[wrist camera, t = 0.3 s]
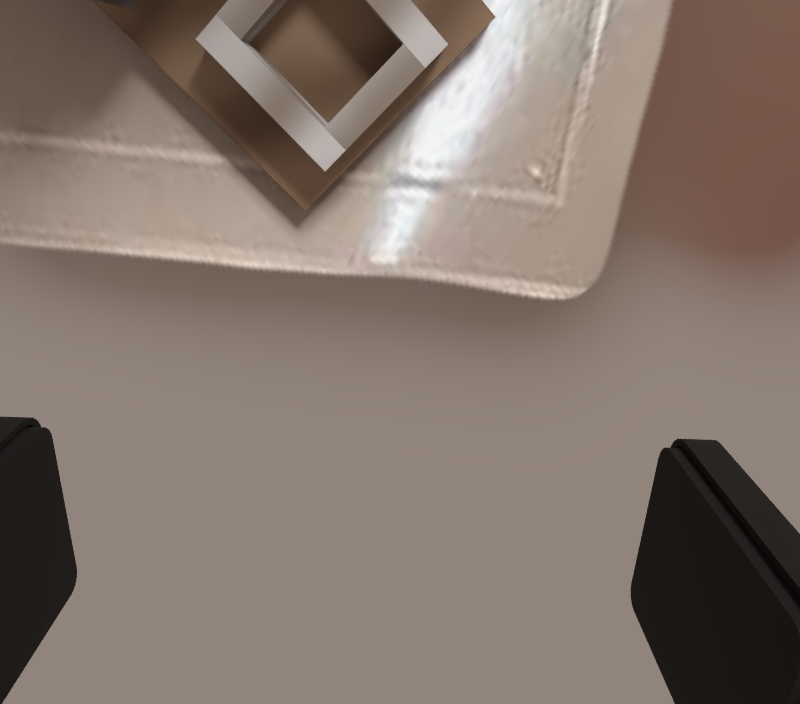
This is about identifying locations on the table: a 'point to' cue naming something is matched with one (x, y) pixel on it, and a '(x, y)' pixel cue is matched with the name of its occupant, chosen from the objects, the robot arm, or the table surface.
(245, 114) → the socket console
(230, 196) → the table surface
